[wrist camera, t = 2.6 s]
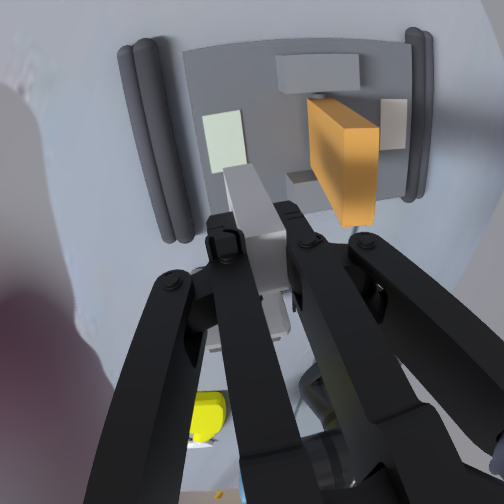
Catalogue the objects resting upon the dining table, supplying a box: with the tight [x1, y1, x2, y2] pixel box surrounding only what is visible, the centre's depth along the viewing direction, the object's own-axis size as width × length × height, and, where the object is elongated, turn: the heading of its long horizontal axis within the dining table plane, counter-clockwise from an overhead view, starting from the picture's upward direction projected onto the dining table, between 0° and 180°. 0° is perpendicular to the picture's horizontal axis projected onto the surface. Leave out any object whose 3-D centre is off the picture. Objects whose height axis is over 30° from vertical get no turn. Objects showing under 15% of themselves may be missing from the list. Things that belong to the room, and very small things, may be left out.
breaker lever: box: [307, 93, 379, 227], centre depth 21 cm, size 7×2×11 cm, turn 7°
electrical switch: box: [190, 268, 291, 353], centre depth 34 cm, size 9×5×9 cm, turn 95°
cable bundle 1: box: [117, 38, 195, 244], centre depth 26 cm, size 20×3×2 cm, turn 7°
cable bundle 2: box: [401, 27, 434, 203], centre depth 28 cm, size 20×3×2 cm, turn 7°
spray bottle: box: [187, 391, 226, 448], centre depth 56 cm, size 3×11×24 cm
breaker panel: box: [182, 38, 412, 215], centre depth 26 cm, size 16×20×5 cm
